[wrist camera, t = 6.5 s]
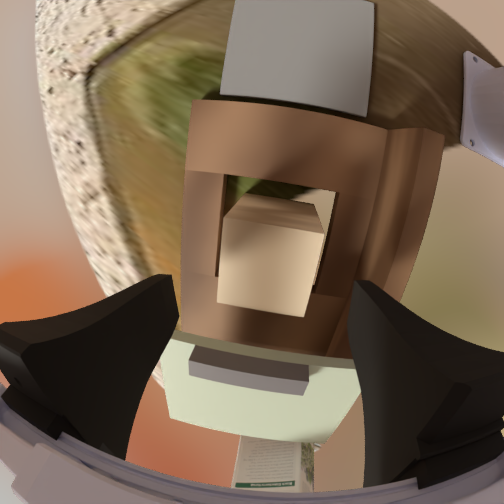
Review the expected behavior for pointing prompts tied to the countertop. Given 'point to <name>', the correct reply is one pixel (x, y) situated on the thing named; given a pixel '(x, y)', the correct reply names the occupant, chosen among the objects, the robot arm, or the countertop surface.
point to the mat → (301, 53)
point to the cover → (256, 389)
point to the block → (269, 254)
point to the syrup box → (274, 465)
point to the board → (341, 223)
